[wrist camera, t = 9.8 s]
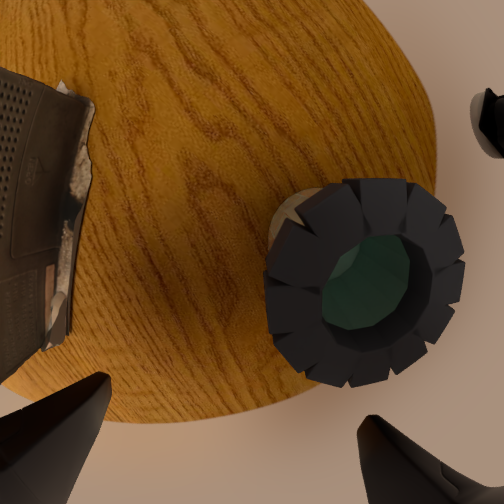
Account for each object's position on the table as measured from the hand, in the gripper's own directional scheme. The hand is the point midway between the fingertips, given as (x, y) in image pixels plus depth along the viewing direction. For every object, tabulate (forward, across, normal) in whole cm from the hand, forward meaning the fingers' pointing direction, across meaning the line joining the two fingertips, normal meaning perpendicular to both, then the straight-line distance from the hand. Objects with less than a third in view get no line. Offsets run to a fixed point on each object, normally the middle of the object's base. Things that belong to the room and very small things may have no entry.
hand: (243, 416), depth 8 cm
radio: (+14, +19, -1) cm, 23 cm away
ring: (+4, -4, -4) cm, 8 cm away
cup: (+14, -5, -4) cm, 15 cm away
